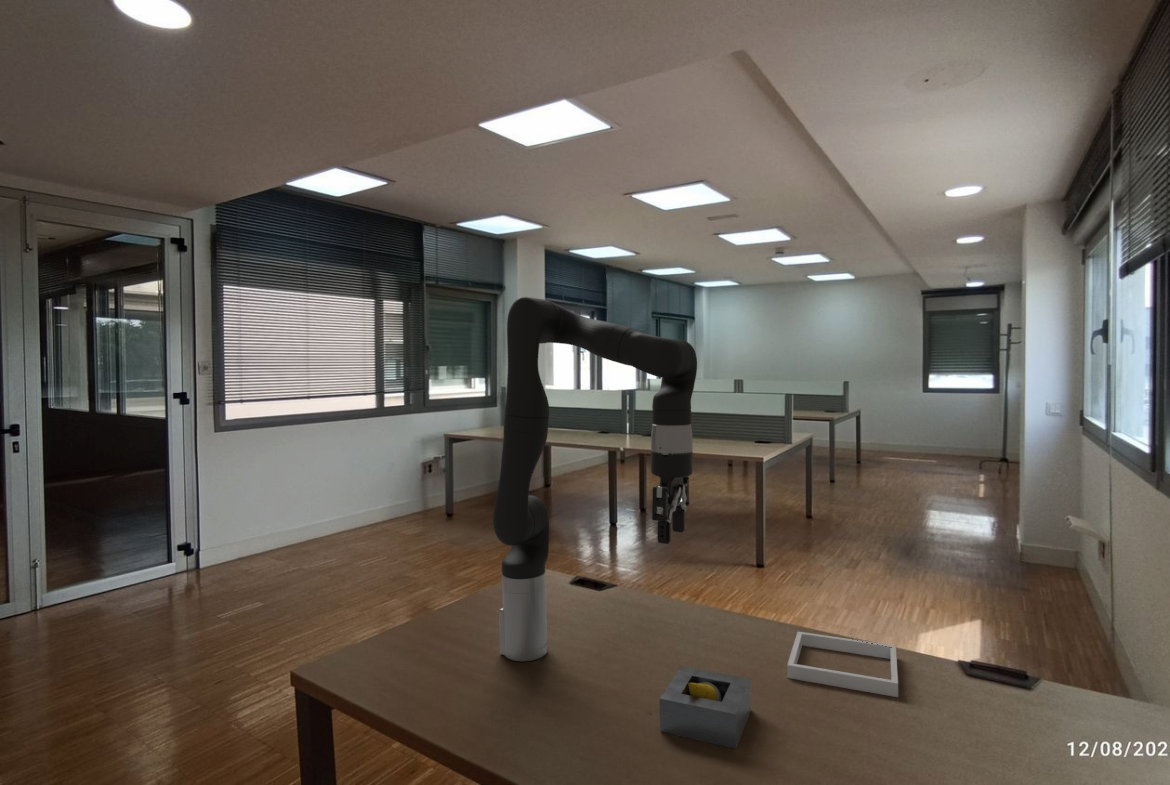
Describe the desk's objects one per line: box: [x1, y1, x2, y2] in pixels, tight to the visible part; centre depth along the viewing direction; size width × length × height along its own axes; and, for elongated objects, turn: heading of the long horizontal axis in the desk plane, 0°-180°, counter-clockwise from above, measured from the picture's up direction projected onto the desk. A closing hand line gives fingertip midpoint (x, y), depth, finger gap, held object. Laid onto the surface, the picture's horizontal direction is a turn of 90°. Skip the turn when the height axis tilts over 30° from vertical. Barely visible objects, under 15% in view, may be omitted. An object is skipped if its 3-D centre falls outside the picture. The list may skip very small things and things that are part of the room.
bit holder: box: [659, 665, 752, 750], centre depth 106 cm, size 12×12×6 cm
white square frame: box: [786, 631, 899, 698], centre depth 123 cm, size 19×17×2 cm
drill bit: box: [688, 682, 722, 702], centre depth 105 cm, size 5×5×10 cm
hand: (671, 537), depth 114 cm, fingers open, 8 cm apart
